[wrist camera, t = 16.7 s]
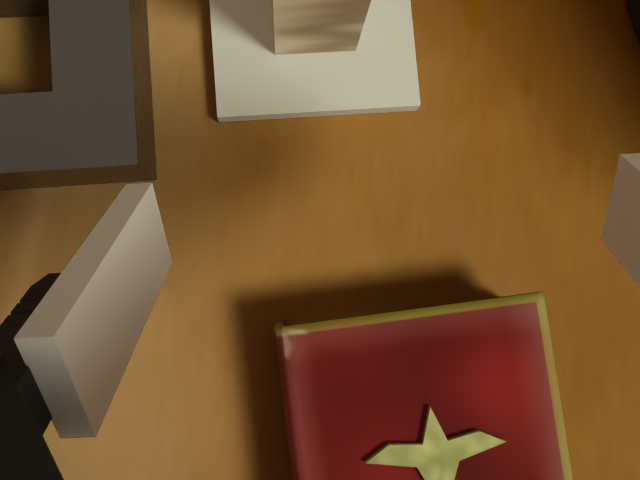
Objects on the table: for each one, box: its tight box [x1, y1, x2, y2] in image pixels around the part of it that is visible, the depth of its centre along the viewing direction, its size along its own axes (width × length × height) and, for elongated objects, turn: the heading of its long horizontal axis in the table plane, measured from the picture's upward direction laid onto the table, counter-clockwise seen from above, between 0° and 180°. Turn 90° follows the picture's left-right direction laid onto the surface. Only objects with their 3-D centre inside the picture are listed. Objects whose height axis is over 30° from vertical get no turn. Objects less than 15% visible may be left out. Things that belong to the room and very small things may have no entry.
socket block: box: [0, 0, 157, 190], centre depth 25 cm, size 12×12×4 cm
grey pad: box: [209, 0, 420, 122], centre depth 28 cm, size 10×10×1 cm
